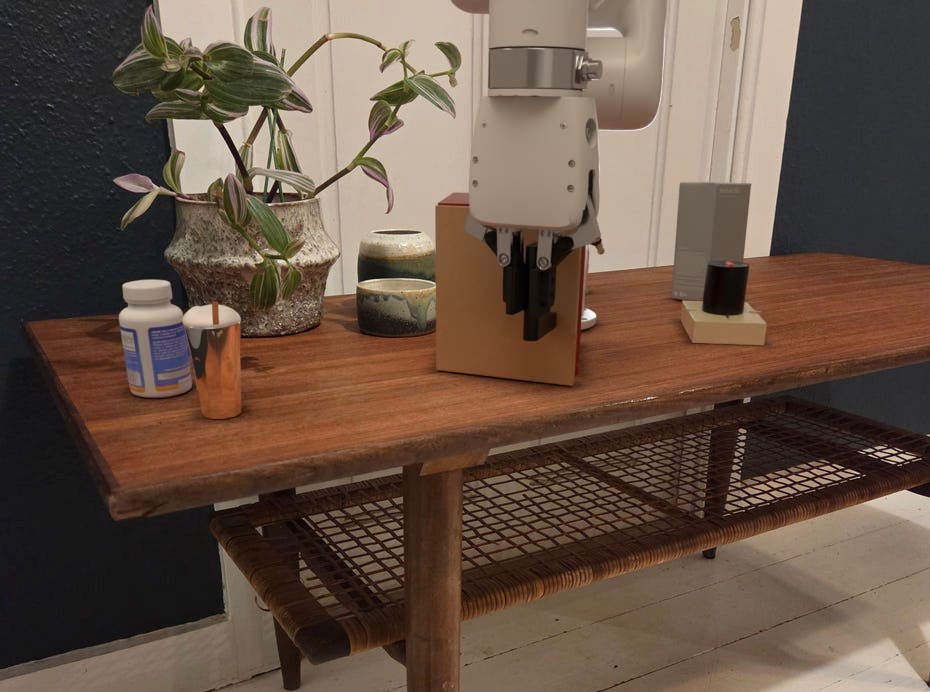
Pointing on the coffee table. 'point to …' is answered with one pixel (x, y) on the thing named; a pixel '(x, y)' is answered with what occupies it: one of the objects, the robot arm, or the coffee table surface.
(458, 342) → the door
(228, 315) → the milkshake
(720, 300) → the knob
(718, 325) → the panel
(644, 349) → the coffee table surface
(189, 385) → the pill bottle
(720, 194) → the cosmetic box
